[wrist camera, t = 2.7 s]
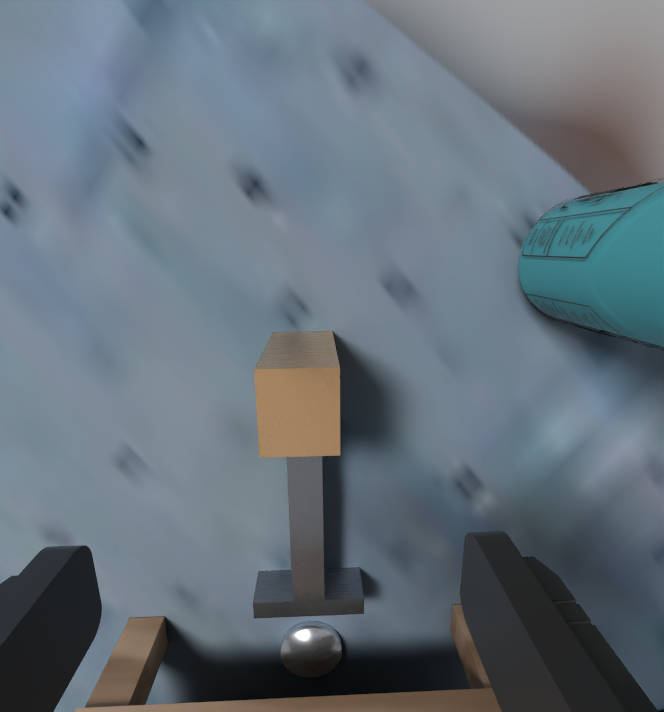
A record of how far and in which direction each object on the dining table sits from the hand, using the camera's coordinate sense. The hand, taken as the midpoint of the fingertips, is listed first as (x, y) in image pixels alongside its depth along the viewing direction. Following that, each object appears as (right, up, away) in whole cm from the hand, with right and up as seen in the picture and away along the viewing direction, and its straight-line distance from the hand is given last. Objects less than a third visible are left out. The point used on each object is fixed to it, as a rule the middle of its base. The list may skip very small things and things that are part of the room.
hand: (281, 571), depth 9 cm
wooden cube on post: (-1, -3, +17) cm, 18 cm away
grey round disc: (0, -17, +21) cm, 27 cm away
